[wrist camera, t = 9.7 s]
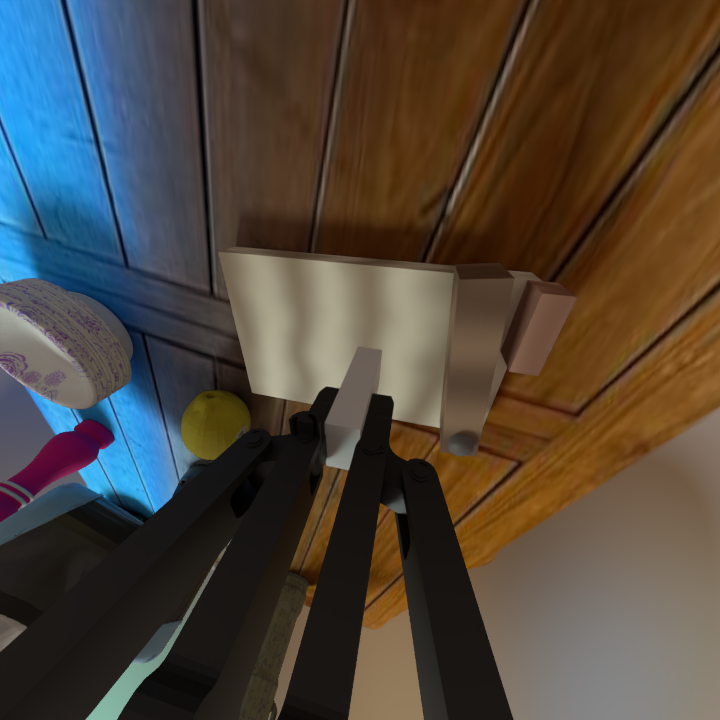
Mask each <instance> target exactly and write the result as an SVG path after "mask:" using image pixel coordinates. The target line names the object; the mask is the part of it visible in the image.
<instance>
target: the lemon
mask: <svg viewBox="0 0 720 720" xmlns="http://www.w3.org/2000/svg"><path fill="white" fill-rule="evenodd" d="M250 423H251V418H250V412H249V410H248V408H247V406H246V404H245V403H244V402H243V401H242V400H241V399H240V398H238V397H237V396H236V395H234V394H232V393H230V392H227V391H222V390H212V391H211V390H210V391H204V392H202V393H201V394H200V395H198V396H197V397H196V398H195V399H194V400H193V401H191V403H190V404H189V405H188V407H187V408H186V410H185V412H184V414H183V417H182V423H181V435H182V439H183V442H184V443H185V446H186V447H187V448H188V449H189V450H190V451H191V452H192V453H193V454H194V455H196V456H197V457H199V458H201V459H207V460H215V459H216V458H217V457H218V456H219V455H221V454H222V453H223V452H224V451H225V450H226V449H227V448H228V447H230V446H231V445H232V444H233V443H234V442H235V441H236V440H237V439H238V438H240V437H241V436H242V435H243V434H245V433H246V432H248V431H249V430H250Z"/></svg>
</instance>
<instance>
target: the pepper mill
mask: <svg viewBox="0 0 720 720" xmlns="http://www.w3.org/2000/svg"><path fill="white" fill-rule="evenodd" d="M113 442H114V437H113V435H112V433H111V432H110V431H109V430H108V429H107V428H106V427H104V426H103V425H101V424H99V423H98V422H95V421H93V420H84V421H83V422H81V423H80V424H78V425H77V426H75V427H74V431H69V432H63V433H60V434H58V435H56V436H55V437H53V438H52V439H51V440H50V441H49V442H48V443H47V444H46V445H45V446H44V447H43V448H42V450H41V451H40V453H39V454H38V455H37V456H36V458H35V459H34V460H33V461H32V462H31V463H30V464H29V465H28V466H27V467H26V468H25V469H23V470H22V471H21V472H19V473H18V474H16V475H15V476H13V477H12V478H10V479H9V480H7V481H6V480H2V481H1V482H0V522H2V521H3V520H5V519H6V518H8V517H9V516H11V515H12V514H14V513H16V512H17V511H18V509H19V508H20V507H25V506H26V505H27V503H29V502H30V501H33V500H34V496H35V495H36V494H37V493H38V492H40V491H41V490H42V489H43V488H45V487H46V486H48V485H49V484H51V483H52V482H54V481H56V480H58V479H60V478H62V477H64V476H66V475H69V474H71V473H73V472H76V471H78V470H80V469H82V468H84V467H86V466H88V465H89V464H90V463H92V462H93V461H94V460H95V459H96V458H97V456H98V453H99V449H105V448H106V447H108V446H109V445H110V444H111V443H113Z"/></svg>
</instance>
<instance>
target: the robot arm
mask: <svg viewBox="0 0 720 720" xmlns="http://www.w3.org/2000/svg"><path fill="white" fill-rule="evenodd" d="M381 358H382V350H379V349H372V348H365V347H358V348H357V350H356V352H355V355H354V357H353V359H352V362H351V364H350V366H349V368H348V371H347V373H346V375H345V378H344V380H343V382H342V384H341V387H340V388H334V387H328V386H326V387H325V388H323V389H322V390H321V391H319V393H318V395H317V397H316V399H315V401H314V402H313V405H312V406H311V408H310V410H309V411H302V412H298V413H296V414H294V415H292V417H291V418H290V419H289V423H290V430H291V434H288V435H282V436H270V434H269V432H267V431H266V430H263V429H253V430H250V431H248V432H246V433H245V434H243V435H242V436H241V437H240V438H238V439H237V440H236V441H235V442H234V443H233V444H232V445H231V446H230V447H228V448H227V449H226V450H225V451H224V452H223V453H222V454H221V455H219V456H218V457H217V458H216V459H215V460H214V461H213V462H212V463H211V464H209V465H208V466H205V465H197V466H193V467H191V468H190V469H189V470H188V471H187V472H186V473H185V475H184V476H183V477H182V478H181V480H180V481H179V483H178V486H177V488H176V490H175V492H174V494H173V496H172V498H171V499H170V500H169V501H168V502H167V503H166V504H165V505H164V506H163V507H161V508H160V509H159V510H158V511H157V512H156V513H155V514H154V515H152V516H151V517H150V518H149V519H148V520H147V521H146V522H145V523H143V522H141V521H140V520H138V519H137V518H135V517H134V516H132V515H130V514H129V513H127V512H126V511H124V510H123V509H121V508H119V507H118V506H116V505H115V504H113V503H112V502H110V501H109V500H107V499H106V498H104V497H103V496H104V495H103V494H98V493H96V492H94V491H92V490H90V489H88V488H87V487H84V486H83V485H81V484H79V483H67V484H63V485H60V486H58V487H56V488H54V489H52V490H51V491H49V492H47V493H46V494H44V495H42V496H41V497H39V498H37V499H36V500H34V501H33V502H31V503H30V504H28V505H26V506H25V507H23V508H22V509H20V510H19V511H17V512H16V513H14V514H12V515H11V516H9V517H8V518H6V519H5V520H3V521H2V522H0V720H85V719H86V718H87V717H88V716H89V714H91V712H92V711H93V710H94V709H95V707H96V706H97V705H98V704H99V702H100V701H101V700H102V699H103V697H104V696H105V695H106V694H107V693H108V691H109V690H110V689H111V688H112V686H113V685H114V684H115V683H116V681H117V680H118V679H119V678H120V676H121V675H122V674H123V673H124V672H125V670H126V669H127V668H128V667H129V665H130V664H131V663H140V664H144V663H148V662H150V661H152V660H153V659H155V658H156V657H157V656H158V655H159V654H160V653H161V652H162V651H163V649H164V648H165V646H166V644H167V643H168V641H169V640H170V638H171V637H172V635H173V633H174V632H175V630H176V629H177V627H178V625H180V624H181V623H182V621H183V617H184V616H185V614H186V612H187V610H188V609H189V607H190V605H191V603H192V601H193V600H194V598H195V596H196V594H197V593H198V591H199V589H200V587H201V586H202V584H203V582H204V580H205V579H206V577H207V575H208V573H209V572H210V570H211V568H212V566H213V565H214V563H215V561H216V559H217V558H218V556H219V554H220V553H221V551H222V550H223V549H224V548H225V546H226V545H227V544H228V543H229V541H230V540H231V539H232V540H231V542H230V544H229V546H228V547H227V549H226V551H225V553H224V555H223V556H222V558H221V560H220V562H219V564H218V565H217V567H216V569H215V571H214V573H213V574H212V576H211V578H210V580H209V582H208V584H207V585H206V587H205V589H204V591H203V592H202V594H201V596H200V598H199V600H198V601H197V603H196V605H195V607H194V608H193V610H192V612H191V614H190V616H189V618H188V619H187V621H186V623H185V625H184V626H183V628H182V630H181V632H180V634H179V636H178V637H177V639H176V641H175V643H174V644H173V646H172V648H171V650H170V652H169V653H168V655H167V657H166V658H165V660H164V661H163V662H162V664H161V665H160V666H159V667H158V668H157V669H156V670H155V671H154V672H152V673H151V674H150V675H149V676H148V677H146V678H145V679H144V681H143V682H142V683H141V684H140V685H139V687H138V688H137V689H136V690H135V692H134V693H133V695H132V696H131V698H130V699H129V701H128V703H127V704H126V706H125V707H124V709H123V710H122V712H121V714H120V715H119V717H118V719H117V720H239V717H240V711H241V705H242V702H243V698H244V695H245V692H246V689H247V686H248V684H249V681H250V678H251V675H252V672H253V670H254V667H255V664H256V661H257V658H258V656H259V653H260V650H261V647H262V644H263V642H264V639H265V636H266V633H267V630H268V628H269V625H270V622H271V619H272V617H273V614H274V611H275V608H276V605H277V603H278V600H279V597H280V594H281V591H282V589H283V586H284V583H285V580H286V577H287V575H288V572H289V569H290V566H291V563H292V561H293V558H294V555H295V552H296V550H297V547H298V544H299V541H300V538H301V536H302V533H303V530H304V527H305V524H306V522H307V519H308V516H309V513H310V510H311V508H312V505H313V502H314V499H315V496H316V494H317V491H318V488H319V485H320V483H321V480H322V477H323V466H324V463H325V461H326V466H331V467H336V468H341V469H346V470H349V471H348V475H347V478H346V482H345V486H344V489H343V493H342V496H341V500H340V504H339V507H338V511H337V514H336V518H335V522H334V525H333V529H332V532H331V536H330V540H329V543H328V547H327V550H326V554H325V558H324V561H323V565H322V568H321V572H320V576H319V579H318V583H317V586H316V590H315V594H314V597H313V601H312V604H311V608H310V612H309V615H308V619H307V623H306V626H305V630H304V633H303V637H302V640H301V644H300V647H299V651H298V655H297V658H296V662H295V666H294V669H293V673H292V677H291V680H290V683H289V687H288V691H287V694H286V698H285V701H284V704H283V707H282V710H281V712H280V715H279V717H278V719H277V720H348V716H349V709H350V703H351V696H352V688H353V682H354V675H355V669H356V661H357V654H358V648H359V642H360V635H361V628H362V621H363V614H364V608H365V601H366V594H367V587H368V581H369V574H370V567H371V560H372V553H373V547H374V540H375V533H376V526H377V519H378V513H379V506H380V503H382V504H384V505H385V506H387V507H389V508H390V509H392V510H393V511H395V517H396V524H397V531H398V538H399V546H400V553H401V560H402V567H403V574H404V581H405V588H406V595H407V602H408V609H409V616H410V623H411V630H412V637H413V644H414V651H415V659H416V666H417V672H418V680H419V687H420V694H421V701H422V708H423V715H424V720H513V717H512V714H511V710H510V707H509V704H508V701H507V698H506V694H505V691H504V688H503V685H502V681H501V678H500V675H499V672H498V669H497V666H496V662H495V659H494V656H493V653H492V650H491V646H490V643H489V640H488V636H487V633H486V630H485V627H484V623H483V620H482V617H481V614H480V611H479V607H478V604H477V601H476V598H475V594H474V591H473V588H472V585H471V582H470V578H469V575H468V572H467V569H466V565H465V562H464V559H463V556H462V553H461V549H460V546H459V543H458V540H457V536H456V533H455V530H454V527H453V524H452V520H451V517H450V514H449V511H448V507H447V504H446V501H445V498H444V495H443V491H442V488H441V485H440V482H439V478H438V475H437V473H436V471H435V469H434V467H433V466H432V465H431V464H430V463H428V462H426V461H424V460H422V459H410V460H409V461H406V460H404V459H402V458H400V457H398V456H397V455H396V454H395V453H393V451H392V450H391V448H390V446H389V437H390V430H391V423H392V416H393V409H394V401H393V399H392V397H391V396H387V395H381V394H377V391H378V387H379V378H380V368H381Z"/></svg>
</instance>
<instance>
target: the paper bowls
mask: <svg viewBox="0 0 720 720" xmlns="http://www.w3.org/2000/svg"><path fill="white" fill-rule="evenodd" d="M132 356H133V344H132V341H131V338H130V336H129V334H128V332H127V330H126V328H125V327H124V325H123V324H122V323H121V321H120V320H119V319H118V318H117V317H116V316H115V315H114V314H113V313H112V312H111V311H110V310H109V309H108V308H106V307H105V306H104V305H102V304H101V303H99V302H98V301H96V300H95V299H93V298H91V297H89V296H86V295H84V294H81V293H77V292H71V291H67V290H65V289H63V288H62V287H60V286H57V285H55V284H52V283H50V282H47V281H45V280H42V279H36V278H27V279H22V280H18V281H13V282H8V283H3V284H0V367H1V368H3V369H4V370H5V371H6V372H7V373H8V374H10V375H11V376H12V377H14V378H15V379H16V380H18V381H19V382H20V383H22V384H23V385H24V386H26V387H27V388H29V389H30V390H32V391H33V392H35V393H37V394H38V395H40V396H42V397H44V398H46V399H48V400H50V401H52V402H54V403H56V404H59V405H62V406H65V407H68V408H72V409H86V408H90V407H92V406H94V405H95V404H97V403H98V402H100V401H101V400H103V399H105V398H106V397H109V396H110V395H111V394H113V393H114V392H116V391H117V390H119V389H121V388H122V387H124V386H125V385H126V384H128V383H129V381H130V379H131V363H130V360H131V358H132Z"/></svg>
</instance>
